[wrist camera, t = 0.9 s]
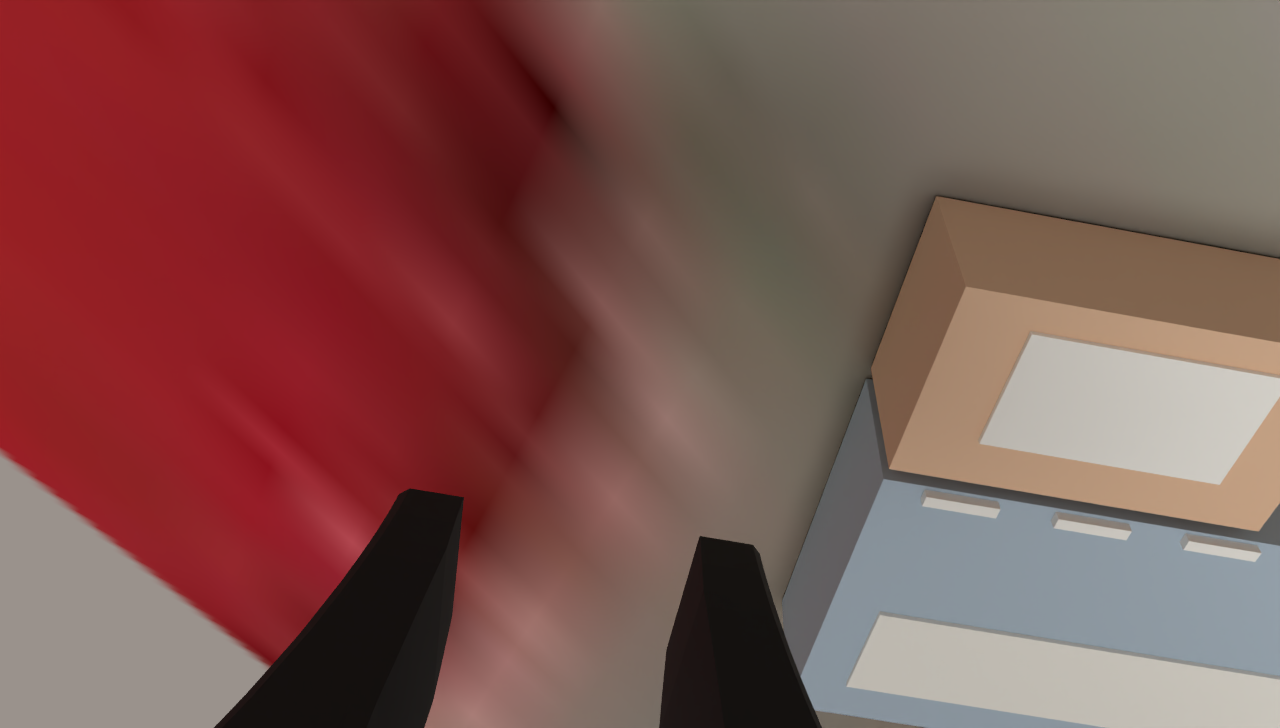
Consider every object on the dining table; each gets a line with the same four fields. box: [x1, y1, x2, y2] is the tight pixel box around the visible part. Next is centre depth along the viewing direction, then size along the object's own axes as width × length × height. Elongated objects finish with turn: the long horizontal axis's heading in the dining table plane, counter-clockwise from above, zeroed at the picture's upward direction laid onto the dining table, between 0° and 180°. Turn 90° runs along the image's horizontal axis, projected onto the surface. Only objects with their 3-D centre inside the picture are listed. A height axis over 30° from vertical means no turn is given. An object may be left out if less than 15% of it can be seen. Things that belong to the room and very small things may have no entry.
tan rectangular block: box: [871, 196, 1280, 532], centre depth 20 cm, size 4×7×3 cm, turn 80°
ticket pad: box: [782, 379, 1280, 728], centre depth 23 cm, size 7×13×3 cm, turn 80°
